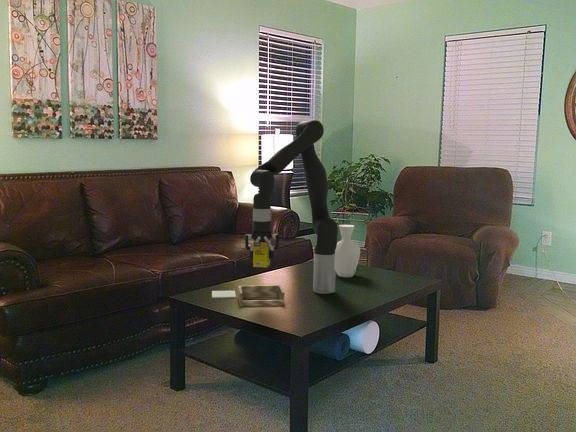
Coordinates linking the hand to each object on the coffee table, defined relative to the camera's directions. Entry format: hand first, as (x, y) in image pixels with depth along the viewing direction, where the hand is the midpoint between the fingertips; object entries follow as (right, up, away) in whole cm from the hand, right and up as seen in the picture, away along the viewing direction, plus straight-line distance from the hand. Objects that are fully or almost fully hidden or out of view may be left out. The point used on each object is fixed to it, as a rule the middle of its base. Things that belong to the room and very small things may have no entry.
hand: (261, 259), depth 232 cm
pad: (-17, -16, +11) cm, 25 cm away
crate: (0, -17, +2) cm, 18 cm away
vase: (+39, -12, +51) cm, 66 cm away
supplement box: (0, -4, 0) cm, 4 cm away
